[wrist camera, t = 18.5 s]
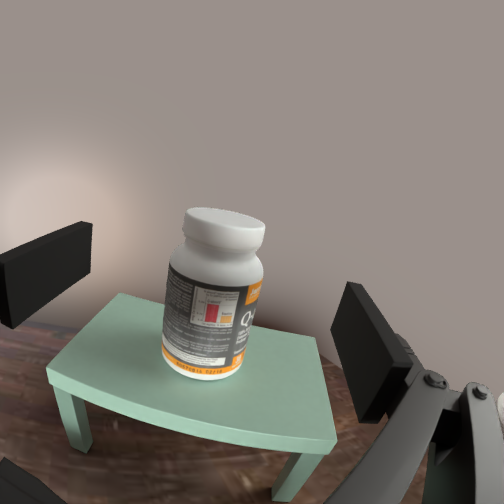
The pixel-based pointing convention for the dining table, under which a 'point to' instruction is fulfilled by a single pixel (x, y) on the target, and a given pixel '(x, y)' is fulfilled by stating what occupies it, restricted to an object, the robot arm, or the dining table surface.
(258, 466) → the dining table surface
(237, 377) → the shelf
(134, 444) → the dining table surface
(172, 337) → the pill bottle
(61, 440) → the dining table surface
